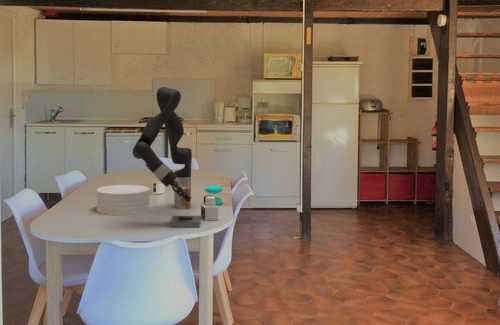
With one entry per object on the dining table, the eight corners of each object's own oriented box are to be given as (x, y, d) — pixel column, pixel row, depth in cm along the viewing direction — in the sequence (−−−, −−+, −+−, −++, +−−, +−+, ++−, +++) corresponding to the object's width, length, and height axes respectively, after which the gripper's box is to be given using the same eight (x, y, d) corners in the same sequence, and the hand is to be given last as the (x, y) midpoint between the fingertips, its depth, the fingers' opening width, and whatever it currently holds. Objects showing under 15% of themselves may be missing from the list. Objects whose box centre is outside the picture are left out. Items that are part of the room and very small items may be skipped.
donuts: (225, 187, 320) (208, 188, 316) (224, 204, 321) (208, 206, 317) (218, 185, 329) (202, 185, 325) (218, 201, 330) (202, 202, 326)
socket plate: (169, 227, 266) (169, 222, 266) (172, 220, 280) (172, 215, 280) (199, 227, 267) (199, 222, 266) (200, 220, 281) (200, 215, 280)
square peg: (180, 208, 270) (180, 188, 269) (181, 207, 274) (181, 186, 273) (190, 209, 270) (190, 188, 269) (190, 207, 274) (190, 187, 273)
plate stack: (155, 205, 316) (155, 185, 314) (141, 216, 288) (140, 194, 287) (107, 203, 319) (107, 184, 317) (88, 214, 291) (88, 192, 290)
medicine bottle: (200, 218, 287) (201, 195, 285) (214, 217, 289) (214, 194, 288) (204, 221, 280) (204, 197, 278) (218, 220, 282) (218, 196, 281)
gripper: (169, 171, 262) (194, 197, 264) (172, 167, 277) (196, 192, 279) (157, 182, 263) (183, 208, 265) (161, 178, 277) (185, 202, 279)
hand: (189, 199), depth 272 cm, fingers closed on square peg, 4 cm apart
